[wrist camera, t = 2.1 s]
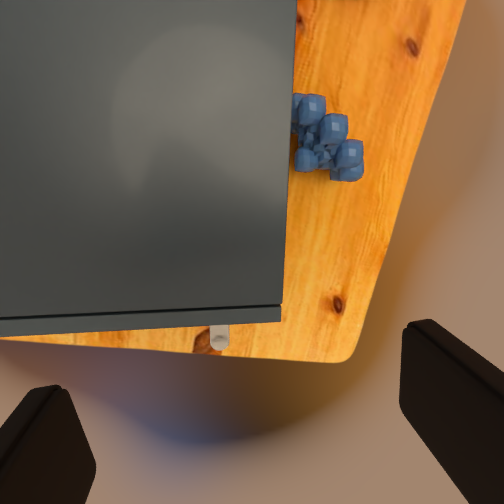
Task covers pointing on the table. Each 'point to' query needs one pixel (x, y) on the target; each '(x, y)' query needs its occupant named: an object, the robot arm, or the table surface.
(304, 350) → the table surface
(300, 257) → the table surface
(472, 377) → the robot arm
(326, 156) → the grapes
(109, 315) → the cupboard door
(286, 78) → the cupboard
